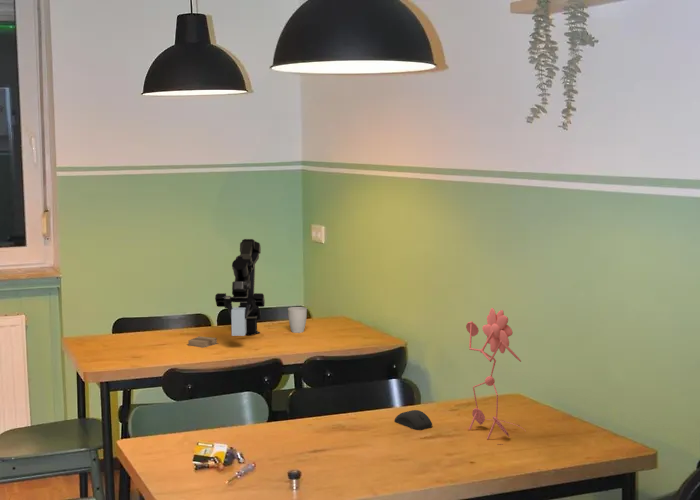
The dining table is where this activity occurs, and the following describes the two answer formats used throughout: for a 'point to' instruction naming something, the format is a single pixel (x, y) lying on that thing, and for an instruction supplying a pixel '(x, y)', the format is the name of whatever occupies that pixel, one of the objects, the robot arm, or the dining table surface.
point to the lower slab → (210, 345)
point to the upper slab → (202, 341)
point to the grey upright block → (238, 321)
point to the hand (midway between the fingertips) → (238, 318)
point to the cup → (297, 318)
